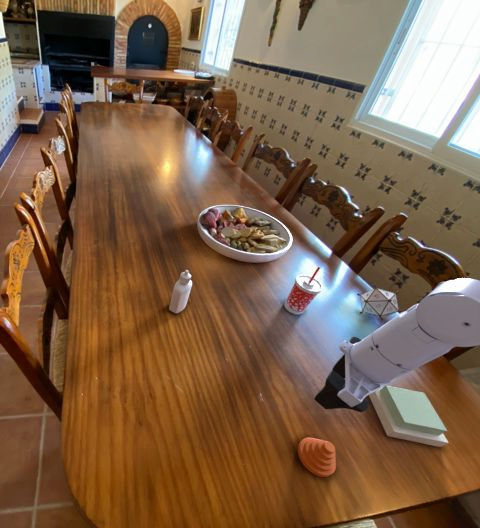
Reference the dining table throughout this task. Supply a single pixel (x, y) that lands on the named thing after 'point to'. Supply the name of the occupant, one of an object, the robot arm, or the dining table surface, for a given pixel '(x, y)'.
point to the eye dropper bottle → (181, 292)
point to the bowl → (243, 233)
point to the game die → (379, 303)
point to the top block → (412, 410)
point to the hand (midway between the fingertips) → (329, 387)
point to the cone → (317, 456)
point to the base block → (400, 432)
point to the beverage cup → (303, 293)
